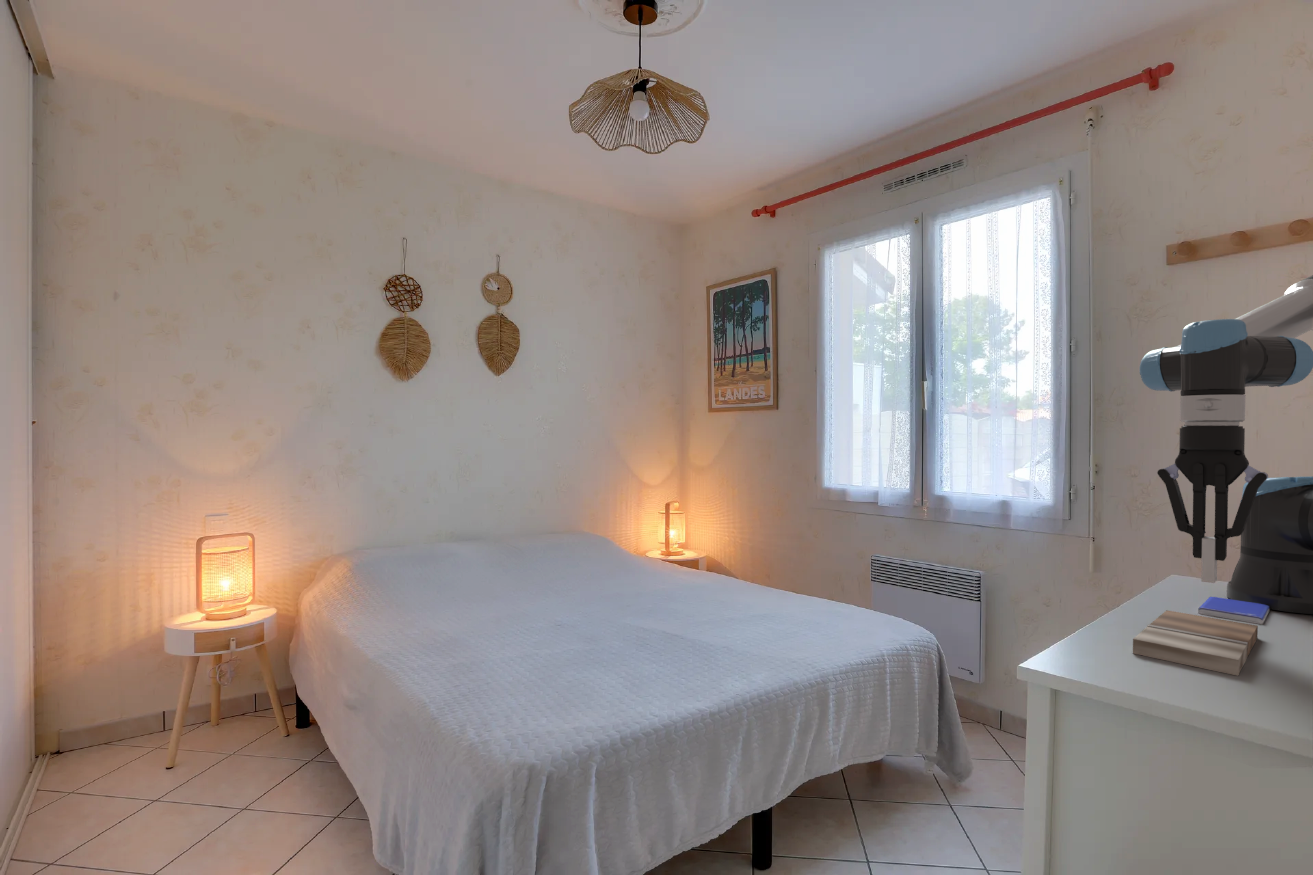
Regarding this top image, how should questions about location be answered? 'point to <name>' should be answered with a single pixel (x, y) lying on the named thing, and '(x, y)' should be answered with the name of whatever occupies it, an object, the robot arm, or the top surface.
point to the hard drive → (1234, 609)
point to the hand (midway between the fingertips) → (1209, 580)
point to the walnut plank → (1209, 627)
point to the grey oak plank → (1191, 649)
